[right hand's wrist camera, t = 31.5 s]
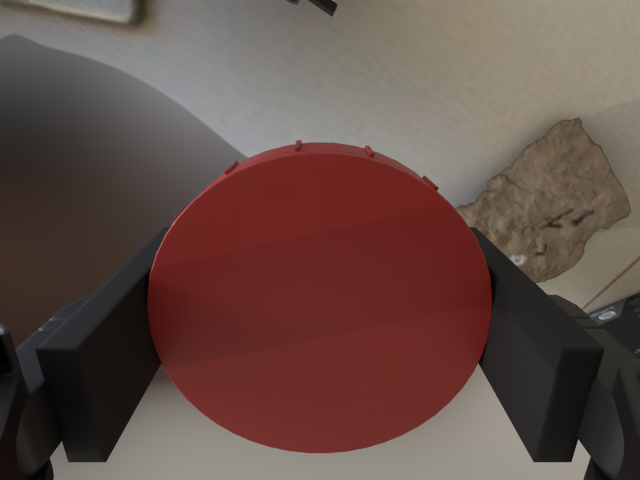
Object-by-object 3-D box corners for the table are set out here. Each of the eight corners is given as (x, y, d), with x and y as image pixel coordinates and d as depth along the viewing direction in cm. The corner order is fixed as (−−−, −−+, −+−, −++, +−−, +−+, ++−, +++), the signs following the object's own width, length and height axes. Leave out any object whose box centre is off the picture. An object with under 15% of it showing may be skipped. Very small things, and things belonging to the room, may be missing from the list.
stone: (489, 311, 54) (509, 324, 48) (418, 224, 54) (430, 227, 48) (621, 208, 53) (659, 209, 47) (550, 117, 52) (579, 106, 46)
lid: (502, 155, 11) (534, 168, 9) (440, 418, 14) (455, 462, 12) (159, 128, 10) (131, 136, 9) (176, 402, 13) (157, 445, 12)
